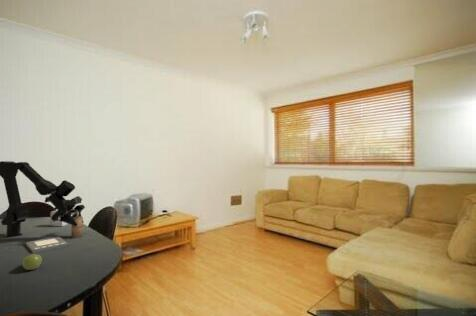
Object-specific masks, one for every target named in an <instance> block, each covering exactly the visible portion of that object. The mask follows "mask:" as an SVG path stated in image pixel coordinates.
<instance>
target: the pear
mask: <svg viewBox="0 0 476 316" xmlns="http://www.w3.org/2000/svg"><path fill="white" fill-rule="evenodd" d="M42 260H43V259H42V256H41V255H40V254H37V253H32V254H28V255H26V256H25V257H24V258H23V260H22V263H21V265H22V267H23V269H24V270H26V271H33V270H36V269H37V268H39V267H40V266H41V264H42Z"/></svg>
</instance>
